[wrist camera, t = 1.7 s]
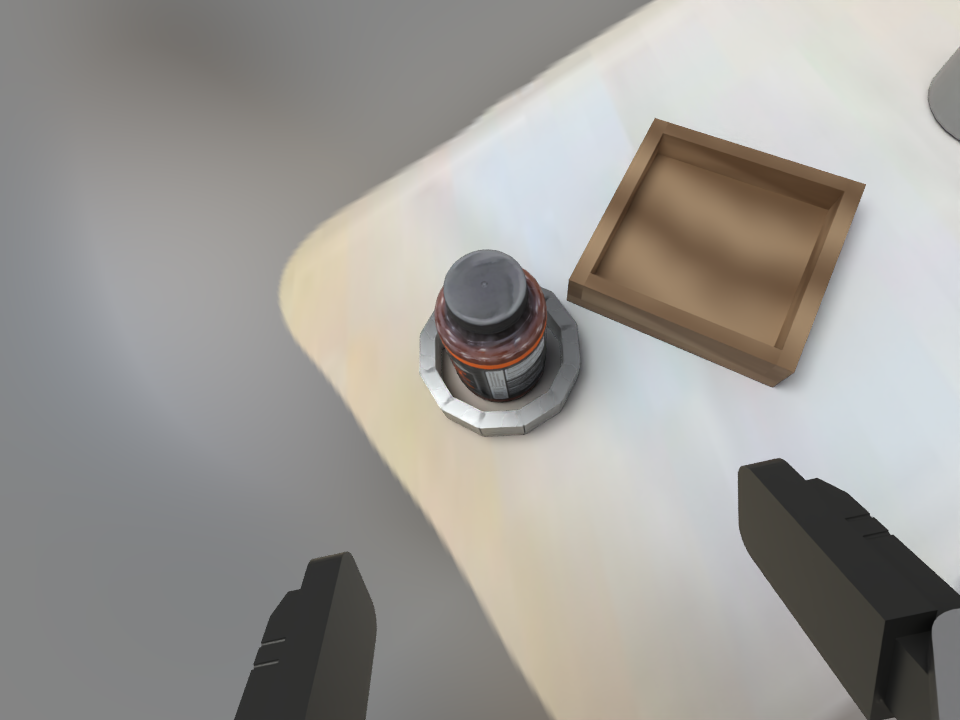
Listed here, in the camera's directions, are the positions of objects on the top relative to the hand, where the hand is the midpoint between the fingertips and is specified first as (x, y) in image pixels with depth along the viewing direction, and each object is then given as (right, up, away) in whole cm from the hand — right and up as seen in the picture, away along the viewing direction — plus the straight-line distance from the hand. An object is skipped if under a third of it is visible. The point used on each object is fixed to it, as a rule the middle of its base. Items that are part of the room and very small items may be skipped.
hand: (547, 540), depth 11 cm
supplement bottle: (0, +4, +25) cm, 25 cm away
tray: (+14, +11, +25) cm, 31 cm away
